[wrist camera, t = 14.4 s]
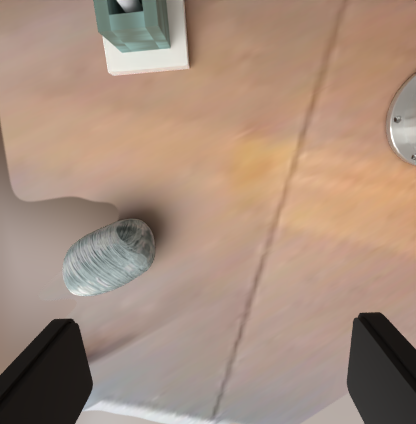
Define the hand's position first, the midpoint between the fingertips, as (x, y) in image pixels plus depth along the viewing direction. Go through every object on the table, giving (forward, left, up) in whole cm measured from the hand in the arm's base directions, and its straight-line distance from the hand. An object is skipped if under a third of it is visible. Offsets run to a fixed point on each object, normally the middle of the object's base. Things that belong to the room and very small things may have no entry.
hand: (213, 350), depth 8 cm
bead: (+8, -21, -27) cm, 35 cm away
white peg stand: (+8, -21, -28) cm, 36 cm away
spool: (+16, +8, -29) cm, 34 cm away
